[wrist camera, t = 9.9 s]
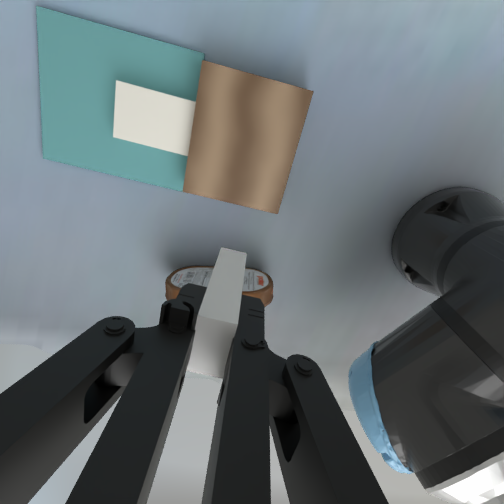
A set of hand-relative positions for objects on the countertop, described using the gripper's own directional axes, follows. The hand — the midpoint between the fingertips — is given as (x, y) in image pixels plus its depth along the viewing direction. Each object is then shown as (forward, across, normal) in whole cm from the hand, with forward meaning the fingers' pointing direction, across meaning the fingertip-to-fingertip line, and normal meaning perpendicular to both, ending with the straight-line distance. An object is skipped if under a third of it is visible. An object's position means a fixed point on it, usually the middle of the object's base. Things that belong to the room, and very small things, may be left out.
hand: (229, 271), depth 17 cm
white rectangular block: (+24, +12, -6) cm, 27 cm away
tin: (+26, +1, +14) cm, 29 cm away
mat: (+24, +17, -6) cm, 30 cm away
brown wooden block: (+25, +2, -6) cm, 25 cm away
